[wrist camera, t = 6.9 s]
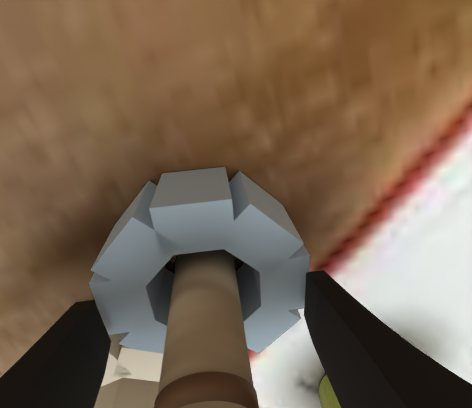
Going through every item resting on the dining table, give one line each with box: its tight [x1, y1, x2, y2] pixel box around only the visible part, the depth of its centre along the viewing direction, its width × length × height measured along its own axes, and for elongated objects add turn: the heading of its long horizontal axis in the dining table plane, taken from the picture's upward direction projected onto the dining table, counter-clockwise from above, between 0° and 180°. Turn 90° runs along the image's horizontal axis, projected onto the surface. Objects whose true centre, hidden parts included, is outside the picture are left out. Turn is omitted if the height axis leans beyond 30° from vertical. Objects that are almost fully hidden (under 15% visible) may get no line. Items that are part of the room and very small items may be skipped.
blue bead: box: [89, 167, 310, 354], centre depth 12 cm, size 8×8×3 cm
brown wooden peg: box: [154, 249, 259, 408], centre depth 9 cm, size 2×2×8 cm
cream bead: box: [94, 309, 163, 408], centre depth 14 cm, size 8×8×3 cm
